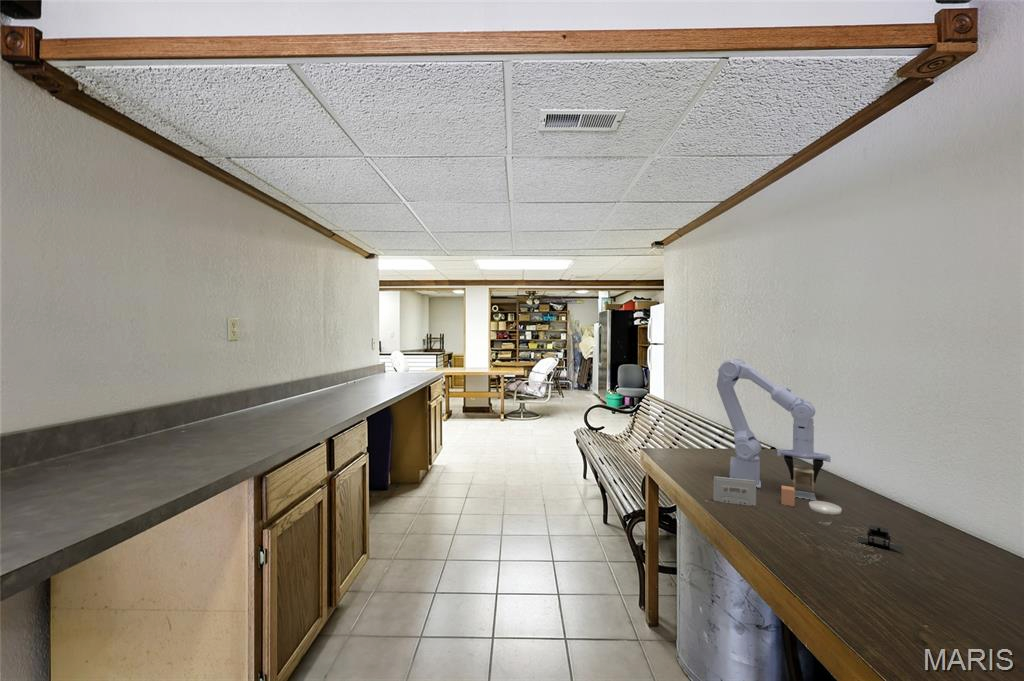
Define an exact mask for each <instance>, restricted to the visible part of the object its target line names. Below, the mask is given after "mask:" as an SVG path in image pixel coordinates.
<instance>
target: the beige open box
mask: <svg viewBox="0 0 1024 681" xmlns="http://www.w3.org/2000/svg"><path fill="white" fill-rule="evenodd" d="M797 484H798V485H805V486H810V489H811V492H814V491H815V490H814V488H815V486H814V485H815V483H814V471H813V466H809V465H804V464H803V465H802V464H801V465H800V464H796V463H795V464H794V463H793V480H792V487H794V489H796V487H797V486H796V485H797Z"/></svg>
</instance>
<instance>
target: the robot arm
mask: <svg viewBox="0 0 1024 681" xmlns="http://www.w3.org/2000/svg"><path fill="white" fill-rule="evenodd" d="M717 371H718V374H717V375H718V376H717V380H716V389H717V391H718V393H719V396H720V399H721V402H722V404H723V408H724V410H725V413H726V414H727V417H728V419H729V420H728V421H729V423H730V426H731V428H732V431H733V433H734V434H733V442H734V452H735V454H736V456H730V460H729V461H730V462H729V463H730V466H729V473H728V474H729V477H728V478H736V479H746V480H755V481H756V487H757V488H756V489H760V488H761V487H762V480H760V478H761V477H760V475H761V474H760V473H761V472H760V468H761V467H760V466H761V465H760V464H761V462H760V461H761V460H760V459H761V458H760V456H759V454H760V453H761V451H762V449H763V448H762V444H761V441H759V440H758V439H757V438H756V436H755V433H754V432H753V431H752V430H751V429H750V426H749V425H748V421H747V419H746V417H745V414H744V411H743V409H742V406H741V403H740V401H739V399H738V396H737V393H736V390H735V388H734V387H735V385H736V384H737V382H738V380H739V379H742V380H743V379H744V380H749V381H751V382H752V383H754V384H755V385H757V386H759V387H760V388H761V389H763V390H764V391H766V392H767V393H769V394H770V396H771V397H770V398H771V400H772V401H773V402H775V403H776V404H778V405H779V406H781V407H782V408H783V409H784V410H786V411H787V412H789V413H790V414H791V417H792V418H793V423H792V424H793V425H792V449H783V448H782V449H780V448H777V449H776V450H777V451H776V453H777V457H783V459H784V462H785V464H786V467H787V468H788V471H789V475H790V480H791V481H793V464H794V458H796V459H805V460H812V468H813V471H814V484H816V482H817V477H818V475H819V472H820V471H821V469H822V467H823V465H824V462H826V463H831V455H830V454H825V453H819V452H814V450H815V445H814V444H815V442H814V441H815V440H814V439H815V438H814V436H815V426H814V416H815V415H816V408H815V406H814V405H813V404H812V402H809V401H805V399H804V398H803V397H799V396H798V395H796V393H794V392H793V391H792V389H791V388H790V387H785V386H777V385H776V384H775V383H773V382H772V380H770V379H768V378H767V377H766V376H764V374H762V373H760V372H759V371H758V370H757V369H755V368H754V367H753V366H752V365H750V364H749V363H746V362H744V360H742V359H737V358H736V359H732V360H730V359H729V360H724V361H723V362H722V363H721V365H720V366H719V367H718V369H717Z"/></svg>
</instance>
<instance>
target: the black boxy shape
mask: <svg viewBox="0 0 1024 681" xmlns="http://www.w3.org/2000/svg"><path fill="white" fill-rule="evenodd" d="M866 530H867V531H866V535H867V536H862V537H861V536H860V535H857V536H858V540H857V541H858V542H859V543H861V544H860V545H863V544H865V545H864V546H867V545H869V546H868V547H871V546H873V547H872V548H876V547H877V548H876V549H881V550H885V551H889V552H893V553H898V554H902V555H904V546H903V545H900V544H896V543H893V542H891V540H892V539H891V536H892V535H891V534H890V532H889V528H886V527H883V526H882V527H881V526H878V525H874V524H869V527H868V529H866ZM877 538H880V539H877ZM881 539H883V540H881ZM859 543H858V544H859Z"/></svg>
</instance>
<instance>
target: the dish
mask: <svg viewBox="0 0 1024 681" xmlns="http://www.w3.org/2000/svg"><path fill="white" fill-rule="evenodd" d="M808 508H809V509H810V510H812V511H813V512H816V513H819V514H822V515H823V514H824V515H828V514H829V515H830V516H839V515H841V514H842V507H841V506H839V505H838V504H835V503H832V502H828V501H822V500H816V501H815V500H810V501H809V502H808ZM829 515H828V516H829Z"/></svg>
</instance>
